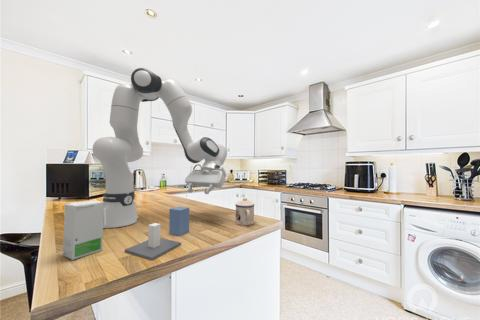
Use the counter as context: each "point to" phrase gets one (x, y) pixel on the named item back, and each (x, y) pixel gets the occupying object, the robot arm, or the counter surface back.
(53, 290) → the counter surface
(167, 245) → the post
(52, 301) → the counter surface
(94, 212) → the skincare box
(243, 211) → the teacup with lid
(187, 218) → the blue block
